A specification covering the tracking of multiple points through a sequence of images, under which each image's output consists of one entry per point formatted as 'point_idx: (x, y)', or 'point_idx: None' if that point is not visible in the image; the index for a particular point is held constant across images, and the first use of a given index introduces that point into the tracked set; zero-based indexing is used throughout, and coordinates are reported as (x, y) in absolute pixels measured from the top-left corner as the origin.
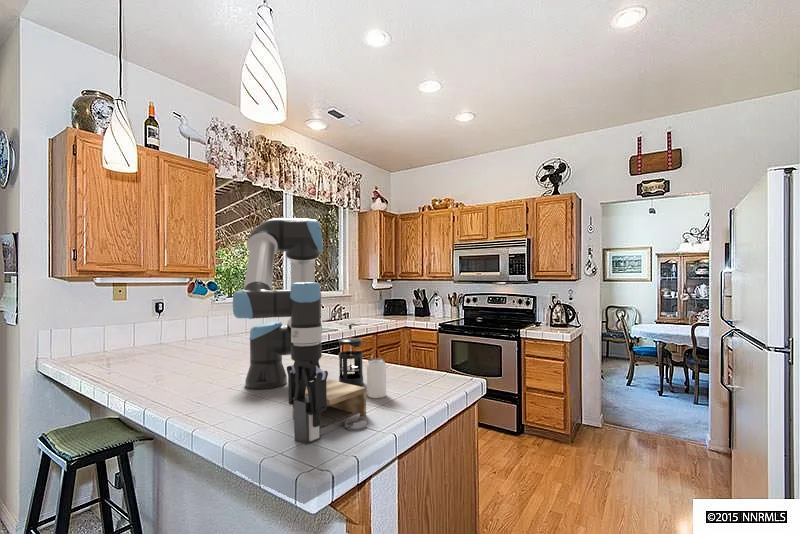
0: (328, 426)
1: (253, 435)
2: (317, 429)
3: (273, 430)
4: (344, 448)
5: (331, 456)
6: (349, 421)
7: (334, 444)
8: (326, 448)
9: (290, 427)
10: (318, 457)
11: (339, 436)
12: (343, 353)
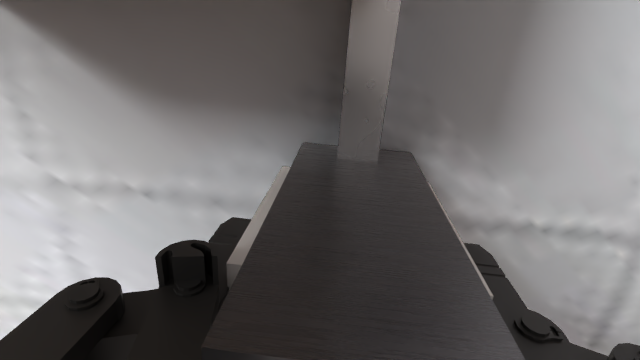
0: (394, 41)
1: (91, 277)
2: None
3: (96, 196)
4: (636, 186)
5: (605, 281)
6: None
7: (545, 173)
8: (528, 229)
9: (121, 118)
10: (545, 310)
11: (510, 61)
12: None
